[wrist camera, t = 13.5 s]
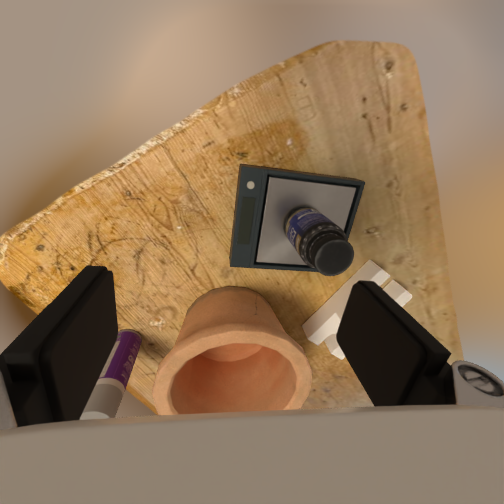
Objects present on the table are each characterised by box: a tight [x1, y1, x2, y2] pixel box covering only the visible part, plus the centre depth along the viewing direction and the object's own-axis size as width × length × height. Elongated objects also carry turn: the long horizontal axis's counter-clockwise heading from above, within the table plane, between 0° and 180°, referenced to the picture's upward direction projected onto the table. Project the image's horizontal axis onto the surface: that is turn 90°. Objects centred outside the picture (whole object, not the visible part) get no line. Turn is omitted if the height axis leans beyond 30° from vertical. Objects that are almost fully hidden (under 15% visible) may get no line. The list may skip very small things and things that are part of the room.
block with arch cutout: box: [302, 260, 412, 360], centre depth 45 cm, size 18×10×11 cm, turn 140°
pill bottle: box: [285, 207, 354, 276], centre depth 34 cm, size 6×6×11 cm
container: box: [80, 329, 142, 420], centre depth 40 cm, size 5×5×15 cm
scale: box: [229, 164, 365, 272], centre depth 40 cm, size 18×15×3 cm
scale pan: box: [256, 176, 356, 265], centre depth 40 cm, size 13×13×1 cm
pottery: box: [152, 286, 312, 415], centre depth 42 cm, size 22×22×14 cm
